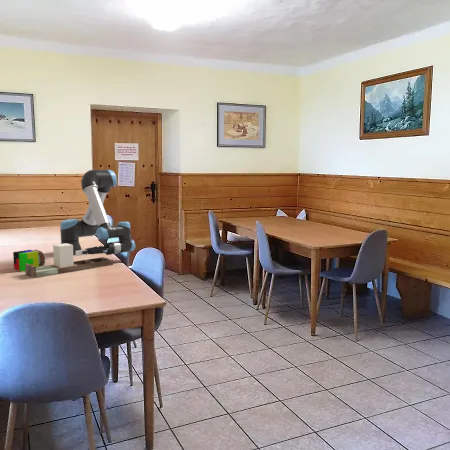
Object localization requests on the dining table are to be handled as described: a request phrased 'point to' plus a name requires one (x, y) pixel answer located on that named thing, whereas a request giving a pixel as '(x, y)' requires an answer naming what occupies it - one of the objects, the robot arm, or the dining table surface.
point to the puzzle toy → (25, 259)
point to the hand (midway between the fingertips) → (76, 253)
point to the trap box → (78, 266)
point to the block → (63, 255)
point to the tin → (40, 257)
